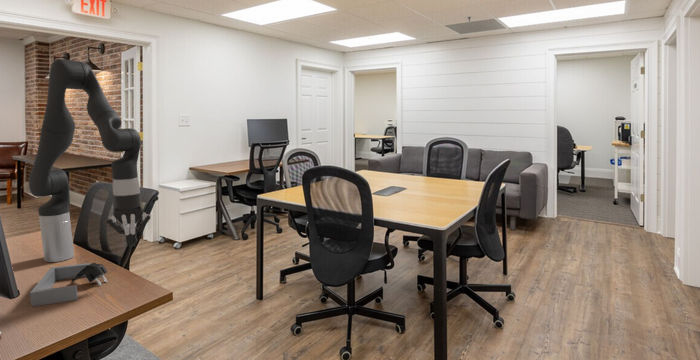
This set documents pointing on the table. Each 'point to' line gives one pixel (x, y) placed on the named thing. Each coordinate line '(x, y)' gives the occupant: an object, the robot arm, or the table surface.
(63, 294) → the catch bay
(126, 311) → the table surface
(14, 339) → the table surface
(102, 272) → the power plug
